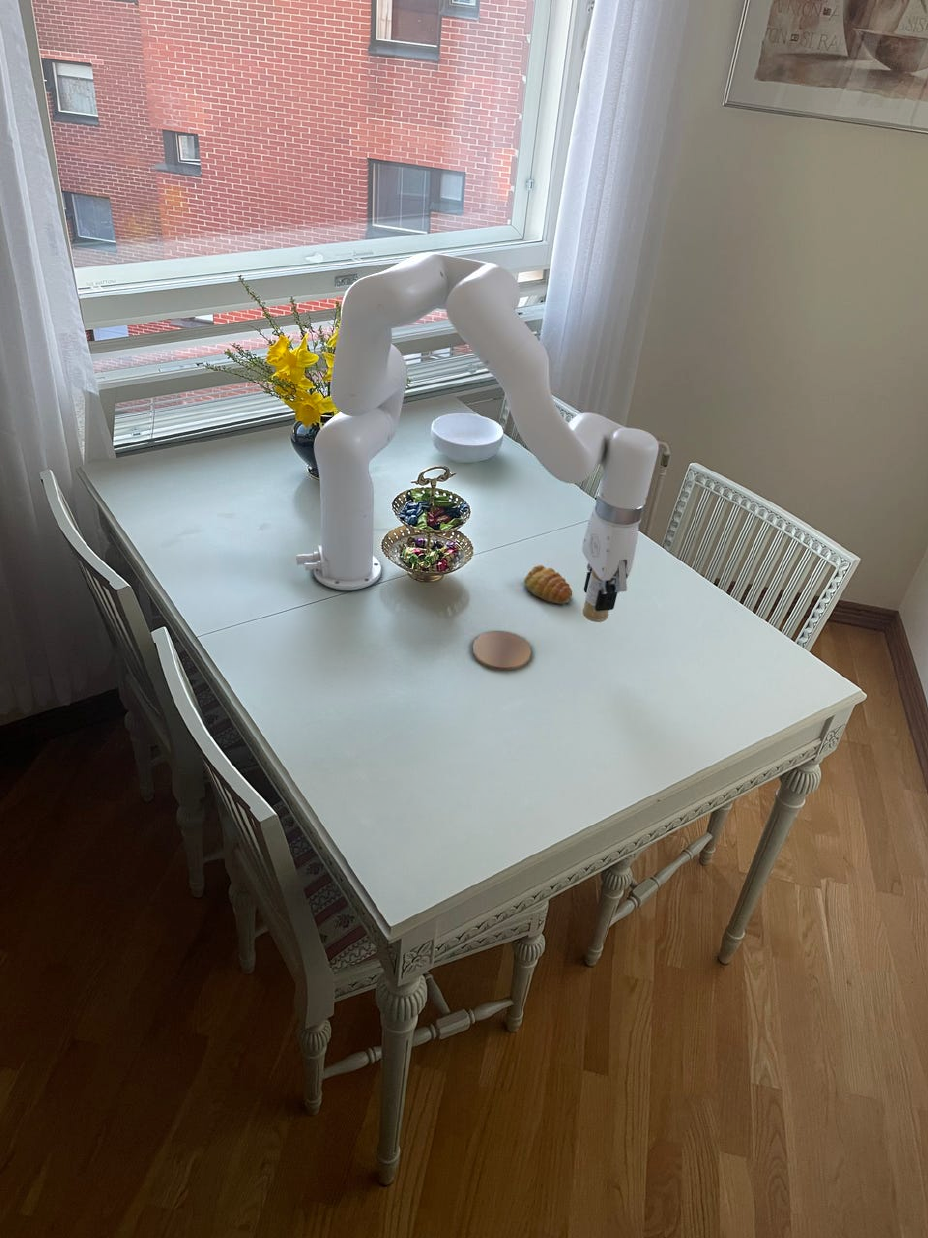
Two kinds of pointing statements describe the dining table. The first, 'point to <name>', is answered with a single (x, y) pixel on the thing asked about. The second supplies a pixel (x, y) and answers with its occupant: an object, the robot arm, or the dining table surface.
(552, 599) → the pastry
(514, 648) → the copper coaster
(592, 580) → the sprinkles bottle
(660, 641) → the dining table surface
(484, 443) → the cereal bowl
